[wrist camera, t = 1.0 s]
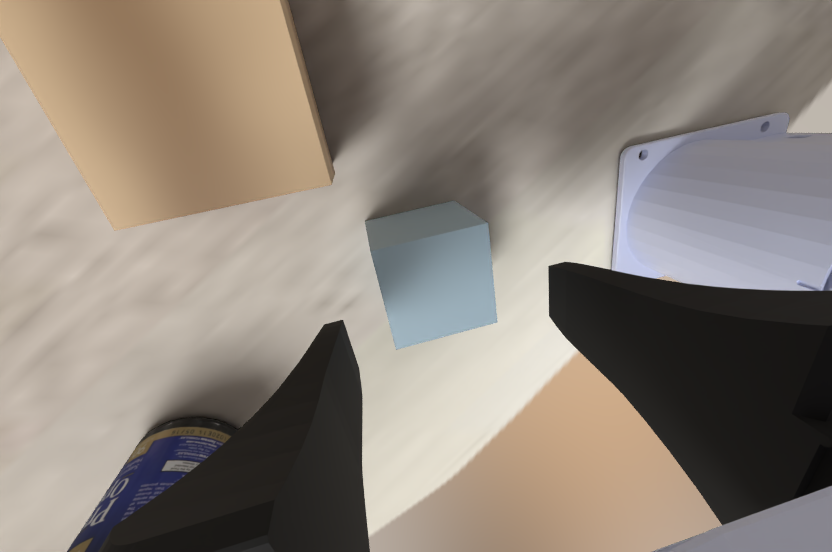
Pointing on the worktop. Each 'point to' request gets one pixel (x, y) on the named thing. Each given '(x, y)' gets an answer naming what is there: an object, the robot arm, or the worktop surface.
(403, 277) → the cube
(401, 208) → the worktop surface
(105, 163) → the slab upper
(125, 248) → the worktop surface
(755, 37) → the worktop surface
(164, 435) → the pill bottle
